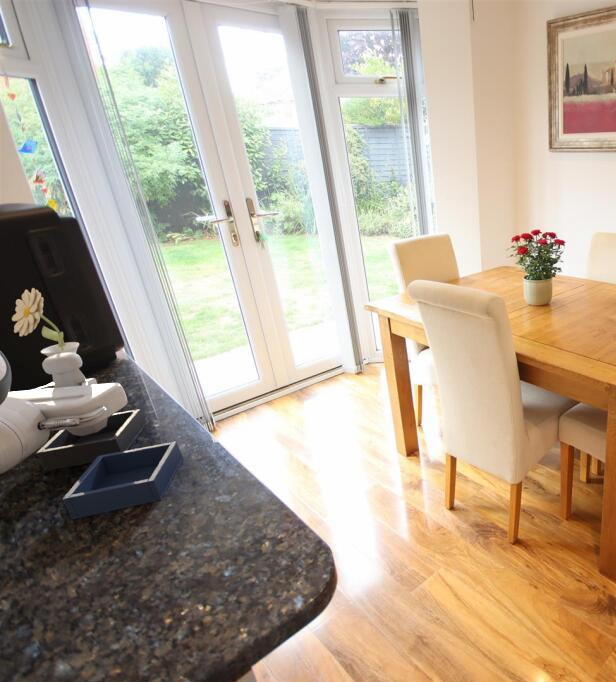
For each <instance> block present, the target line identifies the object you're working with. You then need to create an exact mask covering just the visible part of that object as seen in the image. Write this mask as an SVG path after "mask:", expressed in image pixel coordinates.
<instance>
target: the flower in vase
mask: <svg viewBox="0 0 616 682" xmlns="http://www.w3.org/2000/svg"><path fill="white" fill-rule="evenodd" d="M15 305H16V306H15V309H14V310H15V314H13V315H12V317H11V321H12V322H16V323H15V324H14V326H13V328H14V329H13V332H14V334H16V333H19V335H18V336H19V337H23V336H25V337H26V336H28V335H29V334H31V333H33V331H34V330H35V329H36V328H37V326H38V324H39V323H40V321H41V320H40V319H43V320H44V321H45V322H46V323H47V324H49V325H50V326H51V327H52V328H53V329H54V330H53V329H50V328H48V327H46V326H45V325H43V326H42V329H41V335H42V336H43V338H45V339H49V340H51V341H55V342H58V344H54V345H49V346H48V347H45V348H43V349H42V350H40V353H41V354H42V355H45V356H46V357H47V358H48V357H50V356H53V355H56V354H60V353H67V352H73V353H76V354H77V351H78V348H79V347H80V343H79V342H76V341H71V342H70V341H69V342H68V341H67V342H64V332H63V331H60V330H59V328H58V327H57V326H56V324H54V323H53V322H52V321H51V320H49V319H48V318H47V317H45V316H44V315H43V313H44V310H43V308H44V297H43V296H42V293H41V292H39V290H38V289H35V288H34V287H32V288H31V292H30V291H29V290H28V289H25V290H24V292H23V293H22V294H21V299H19V298H18V299H16V301H15Z"/></svg>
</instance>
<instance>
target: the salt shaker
mask: <svg viewBox="0 0 616 682" xmlns="http://www.w3.org/2000/svg"><path fill="white" fill-rule="evenodd" d="M41 365H42V369H43V370H44V372H45V373H46V374H48V375H52V382H54V388H60V387H71V386H79V385H78V383H79V382H81V381H83V380H85V379H87V378H86V377H85V375H84V374H83V372H82V371H81V370H80V368H81V367H82V366H83V360H82V357H81V356H80V355H79V354H78V353H77V352H76V353H73V352H67V353H60V354H56V355H53V356H50V357H48V356H47V357H46V358H45V359H44V360H43V361H42V363H41ZM107 419H108V418H106V419H104V420H103V421H101V422H99V423H97V424H94V425H92V426H88V427H84V428H76V429H66V430H68V431H69V432H71V433H72V434H73V435H78V436H84V435H88V434H92V433H96V432H98V431H99V430H101V429H103V428H104V427H106V426H107Z"/></svg>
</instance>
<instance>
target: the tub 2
mask: <svg viewBox="0 0 616 682" xmlns="http://www.w3.org/2000/svg"><path fill="white" fill-rule="evenodd" d="M183 460H184V457H183V455H182V452H181V449H180V446H179V443H178V441H172V442H165V443H160V444H154V445H149V446H144V447H139V448H133V449H128V450H127V451H122V452H117V453H112V454H106V455H101V456H98V457H97V458H96V459H95V461H94V462H91V464H90V465H89V466H88V468H87V469H86V470H85V471H84V472H83V474H82V475H81V476H80V477H79V479H77V481H76V482H75V483H74V484H73V486H72V487H71V488H70V489H69V491H67V493H66V494H65V495H64V496H63V498H62V499H61V500H62V502H63V504H64V506H65V508H66V510H67V512H68V514H69V516H70V518H71V520H77V519H81V518H86V517H90V516H95V515H101V514H103V513H108V512H109V513H110V512H113V511H117V510H123V509H128V508H131V507H137V506H139V505H140V506H141V505H145V504H150V503H155V502H159V501H162V500H163V498H164V496H165V494H166V493H167V490H168V489H169V487H170V485H171V483H172V481H173V480H174V477H175V475H176V473H177V472H178V469H179V468H180V466H181V464H182V463H183Z"/></svg>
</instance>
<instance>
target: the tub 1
mask: <svg viewBox="0 0 616 682" xmlns="http://www.w3.org/2000/svg"><path fill="white" fill-rule="evenodd" d="M146 427H147V423H146V420H145V417H144V415H143V413H142V410H141V408H138V409H133V410H126V411H121V412H116V413H114V414H113V415H111V416H109V417H108V419H107V426H106V427H104V428H103V429H101V430H99V431H98V432H96V433H92V434H88V435H84V436H78V435H73V434H72V433H71V432H69V431H68V430H58V432H57V433H56V434H55V435H53V436H52V437H51V439H48V440H47V442H46V443H45V444H44V445H43V446H42V447H41V448H39V449H38V450H37V451H36V453H35V454H36V456H37V458H38V460H39V463H40V465H41V467H42V469H43V471H44V472H48V471H49V472H50V471H54V470H60V469H64V468H69V467H75V466H80V465H86V464H90V463H91V464H92V463H93V462H94V461H95V459H96V458H97V457H98V456H101V455H106V454H112V453H117V452H122V451H128V450H130V448H131V447H132V445H133V444H134V442H135V441H136V440H137V439H138V437H139V436H140V434H141V433H142V432H143V431H144V429H145V428H146Z"/></svg>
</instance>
